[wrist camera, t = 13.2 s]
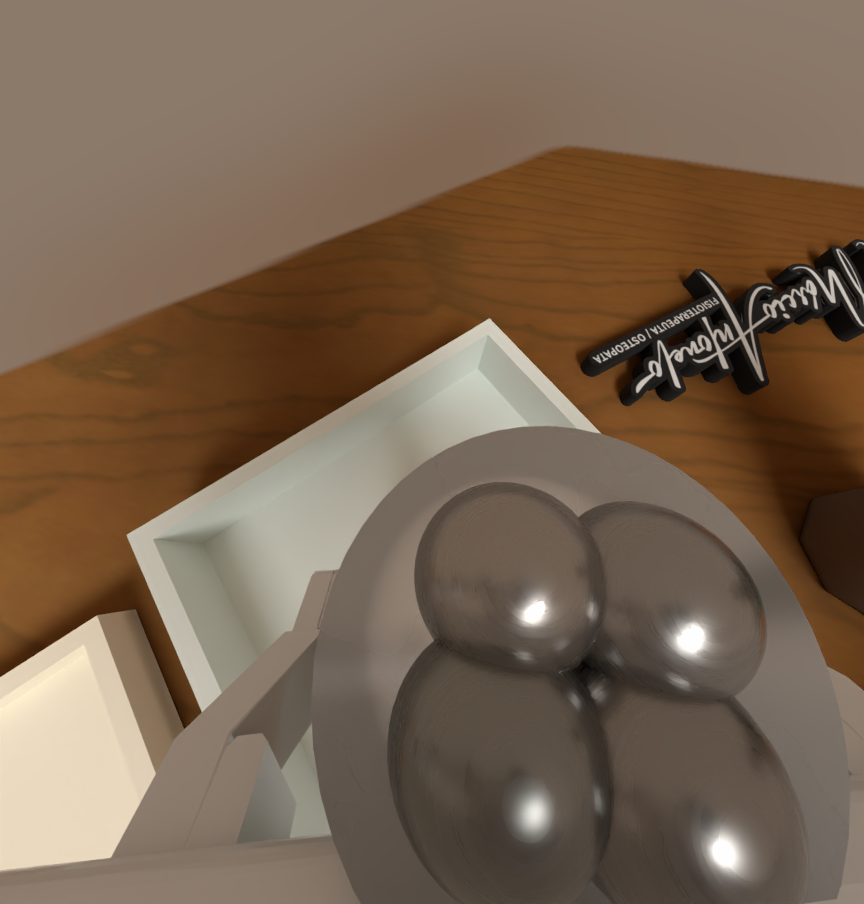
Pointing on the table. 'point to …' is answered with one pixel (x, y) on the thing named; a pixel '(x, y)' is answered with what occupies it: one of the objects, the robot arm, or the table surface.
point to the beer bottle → (837, 544)
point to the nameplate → (737, 326)
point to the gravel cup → (573, 691)
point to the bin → (321, 513)
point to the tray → (80, 742)
